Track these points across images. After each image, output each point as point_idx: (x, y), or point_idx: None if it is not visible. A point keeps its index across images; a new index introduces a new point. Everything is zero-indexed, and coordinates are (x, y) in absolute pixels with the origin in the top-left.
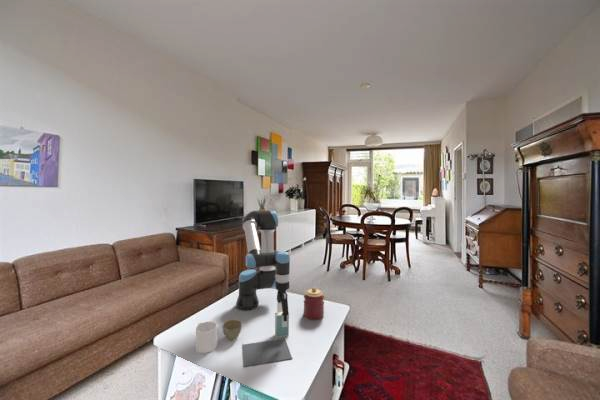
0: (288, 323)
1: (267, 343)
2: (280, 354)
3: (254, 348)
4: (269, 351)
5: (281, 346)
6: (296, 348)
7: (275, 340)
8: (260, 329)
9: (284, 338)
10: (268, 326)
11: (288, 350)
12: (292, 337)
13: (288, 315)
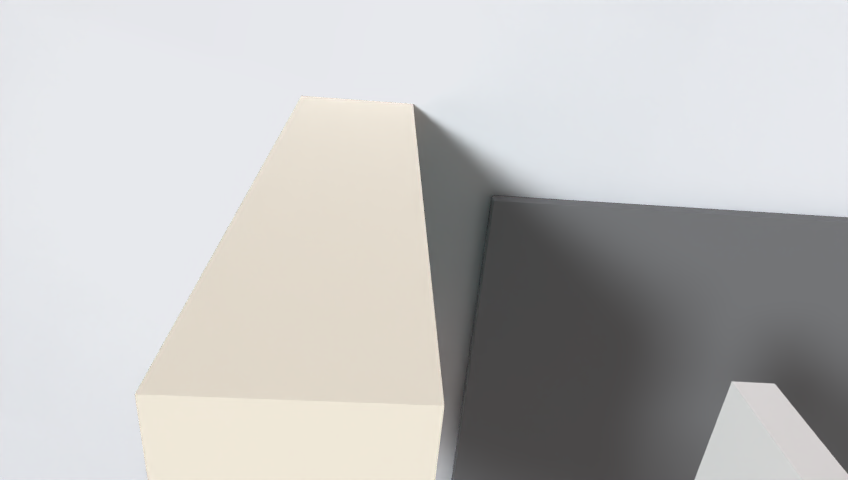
0: (419, 210)
1: (517, 453)
2: (832, 354)
3: None
4: (692, 456)
5: (674, 303)
6: (831, 82)
7: (492, 351)
8: (110, 472)
9: (493, 211)
10: (25, 361)
11: (826, 234)
12: (491, 45)
13: (438, 377)
